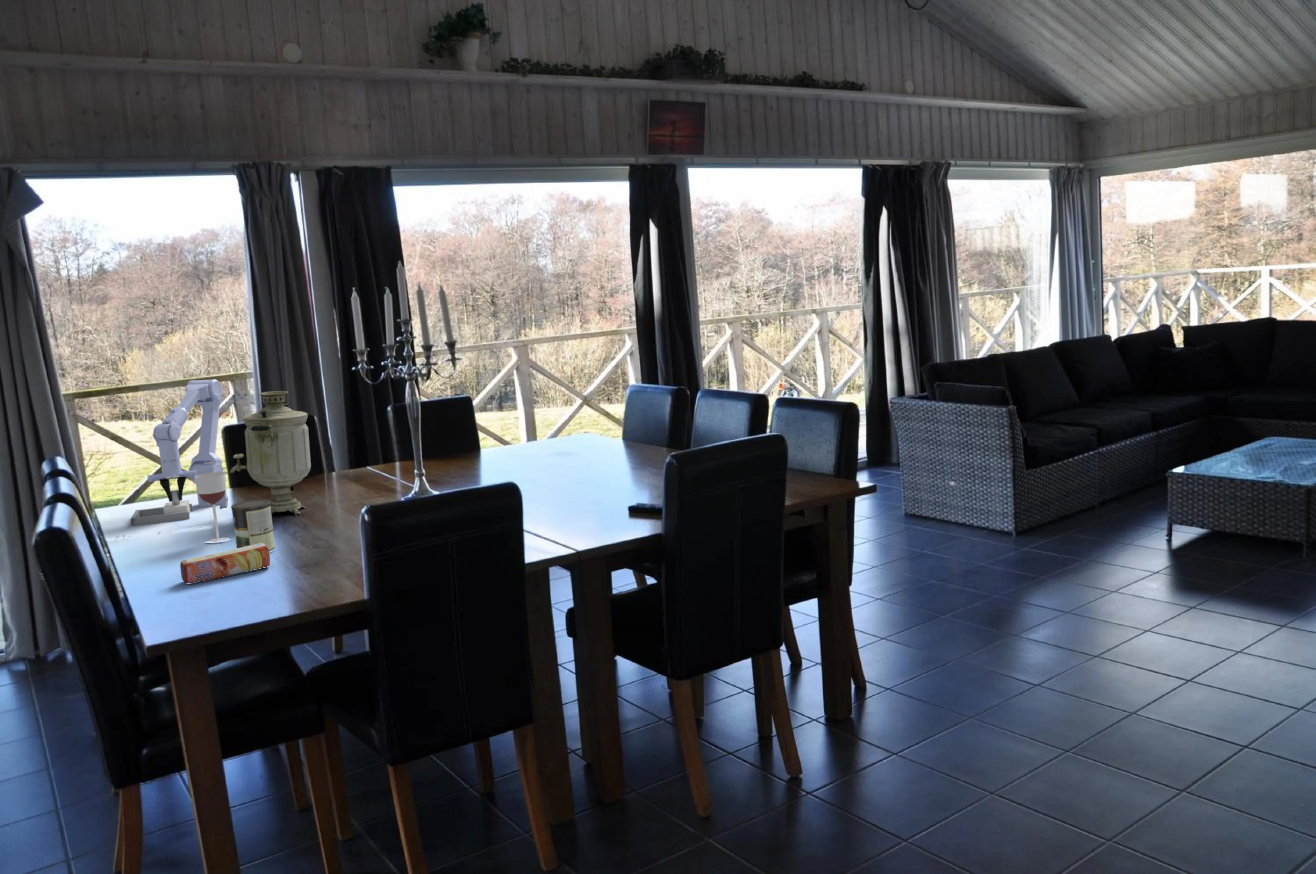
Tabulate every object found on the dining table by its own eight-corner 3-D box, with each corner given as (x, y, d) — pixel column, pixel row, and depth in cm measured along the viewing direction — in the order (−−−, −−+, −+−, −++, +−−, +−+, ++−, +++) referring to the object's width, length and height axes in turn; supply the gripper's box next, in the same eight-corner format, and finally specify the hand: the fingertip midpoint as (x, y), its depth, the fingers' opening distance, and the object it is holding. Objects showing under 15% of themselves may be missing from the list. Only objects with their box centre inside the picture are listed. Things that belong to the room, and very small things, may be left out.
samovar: (267, 502, 360) (254, 388, 354) (336, 502, 355) (324, 386, 348) (215, 524, 331) (199, 400, 325) (289, 523, 326) (274, 397, 320)
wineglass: (239, 537, 311) (231, 472, 308) (218, 545, 303) (209, 478, 300) (218, 536, 314) (209, 471, 311) (196, 544, 306) (188, 478, 303)
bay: (193, 513, 349) (191, 503, 348) (189, 522, 336) (188, 511, 335) (137, 520, 343) (135, 510, 343) (132, 529, 330) (130, 518, 330)
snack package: (187, 587, 262) (183, 561, 261) (181, 582, 267) (177, 556, 266) (272, 569, 274) (269, 544, 273) (265, 564, 280) (262, 540, 279)
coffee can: (232, 558, 287) (225, 508, 285) (243, 548, 297) (237, 500, 295) (270, 555, 288) (264, 506, 286) (280, 546, 298) (274, 498, 296)
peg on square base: (190, 511, 346) (187, 487, 345) (188, 517, 338) (185, 491, 337) (167, 514, 344) (164, 489, 343) (164, 520, 336) (161, 494, 334)
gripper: (144, 464, 332) (150, 505, 334) (193, 459, 337) (198, 500, 339) (146, 461, 338) (152, 501, 341) (195, 456, 343) (200, 496, 345)
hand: (175, 500), depth 340 cm, fingers closed on peg on square base, 2 cm apart
